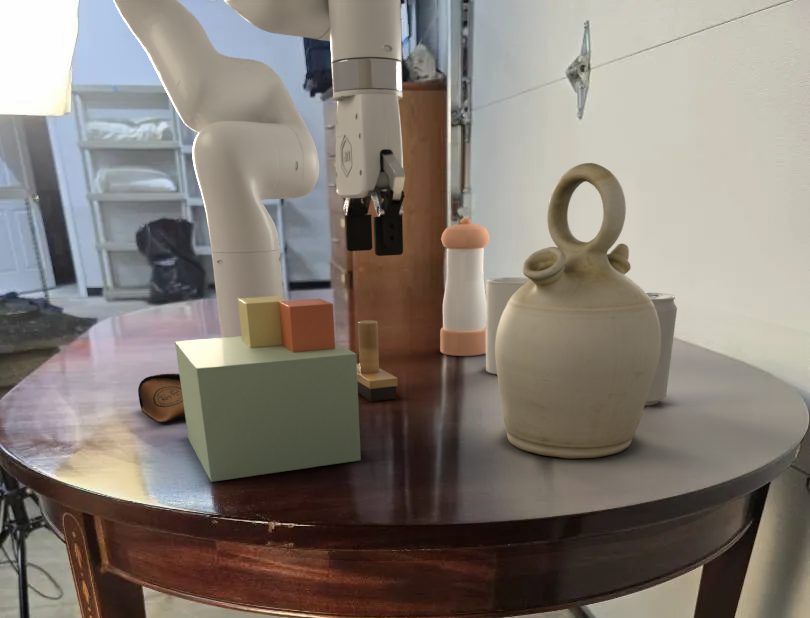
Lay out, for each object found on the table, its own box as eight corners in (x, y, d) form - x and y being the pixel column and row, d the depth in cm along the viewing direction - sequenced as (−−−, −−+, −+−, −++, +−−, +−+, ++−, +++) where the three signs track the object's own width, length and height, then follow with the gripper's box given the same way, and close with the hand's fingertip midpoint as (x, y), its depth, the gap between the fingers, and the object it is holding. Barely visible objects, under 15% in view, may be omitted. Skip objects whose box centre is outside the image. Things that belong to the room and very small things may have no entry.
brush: (344, 385, 101) (340, 317, 97) (370, 382, 102) (367, 315, 98) (370, 402, 92) (367, 329, 89) (398, 399, 94) (396, 326, 90)
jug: (546, 475, 68) (567, 160, 58) (465, 430, 81) (469, 166, 71) (683, 451, 74) (724, 159, 63) (586, 413, 86) (607, 165, 76)
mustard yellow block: (241, 341, 75) (237, 298, 73) (282, 337, 76) (278, 295, 75) (250, 348, 72) (246, 303, 70) (292, 344, 73) (289, 300, 71)
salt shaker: (497, 352, 119) (501, 217, 111) (459, 358, 115) (461, 219, 107) (467, 345, 124) (469, 216, 116) (431, 350, 121) (430, 218, 113)
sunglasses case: (161, 421, 84) (144, 363, 84) (149, 440, 90) (133, 386, 90) (309, 397, 93) (293, 345, 93) (289, 415, 99) (274, 366, 99)
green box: (186, 435, 81) (172, 338, 77) (314, 419, 86) (308, 327, 82) (211, 482, 68) (196, 368, 64) (361, 460, 73) (356, 353, 69)
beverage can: (666, 395, 93) (679, 291, 88) (664, 409, 87) (677, 299, 82) (612, 392, 95) (621, 290, 90) (606, 405, 89) (616, 297, 84)
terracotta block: (282, 345, 73) (278, 301, 71) (322, 341, 74) (320, 298, 72) (293, 352, 69) (289, 306, 68) (335, 348, 71) (333, 303, 69)
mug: (502, 378, 103) (506, 284, 98) (474, 369, 108) (476, 279, 103) (561, 369, 107) (568, 278, 102) (532, 361, 112) (536, 274, 107)
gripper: (311, 92, 89) (321, 250, 96) (361, 71, 75) (369, 259, 82) (372, 94, 92) (377, 247, 99) (432, 73, 77) (433, 255, 84)
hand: (373, 252), depth 90 cm, fingers open, 9 cm apart
